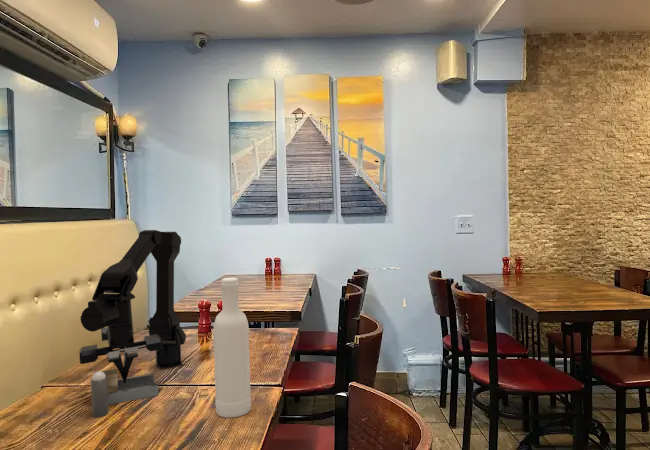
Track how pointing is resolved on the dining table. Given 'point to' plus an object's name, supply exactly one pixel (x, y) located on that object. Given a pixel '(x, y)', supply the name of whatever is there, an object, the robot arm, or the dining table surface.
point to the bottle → (231, 355)
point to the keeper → (111, 380)
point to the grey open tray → (134, 389)
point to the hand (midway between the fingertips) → (124, 382)
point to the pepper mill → (99, 394)
